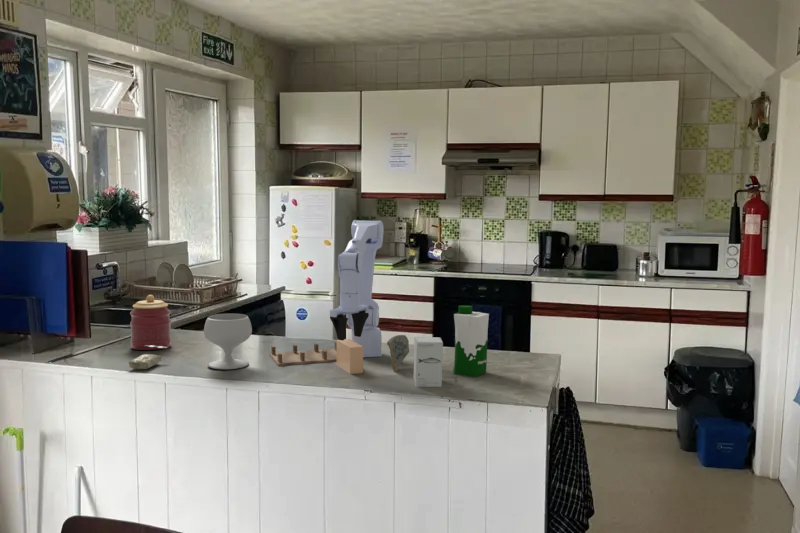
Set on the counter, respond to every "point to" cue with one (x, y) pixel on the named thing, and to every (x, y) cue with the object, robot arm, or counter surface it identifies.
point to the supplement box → (428, 361)
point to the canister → (150, 324)
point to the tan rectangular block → (350, 356)
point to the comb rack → (303, 356)
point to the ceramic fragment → (398, 350)
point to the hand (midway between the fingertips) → (349, 338)
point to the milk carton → (470, 342)
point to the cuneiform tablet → (145, 360)
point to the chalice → (227, 337)
